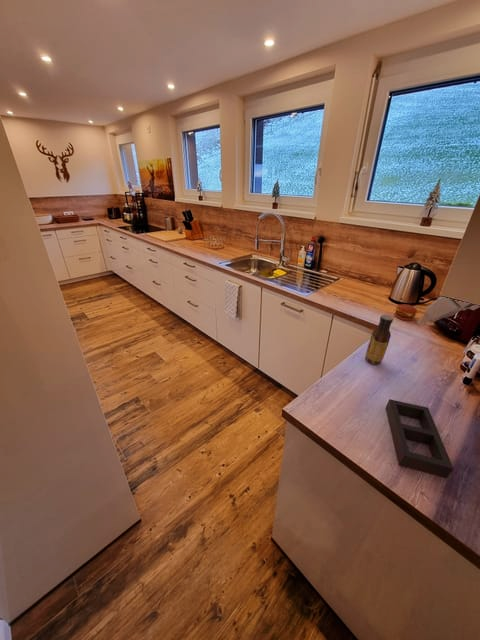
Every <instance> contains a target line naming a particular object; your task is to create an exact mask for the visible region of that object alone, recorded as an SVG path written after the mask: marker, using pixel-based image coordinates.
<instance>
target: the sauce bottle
mask: <svg viewBox="0 0 480 640" xmlns="http://www.w3.org/2000/svg"><path fill="white" fill-rule="evenodd" d="M393 322H394V317H392V316H391V315H389V314H388V315H387V314H382V315H380V318H379V323H378V325H377V327H376V328H374V329H373V331H372V333H371V335H370V338H369V342H368V344H367V348H366V352H365V357H364V359H365V361H366V362H367V363H368V364H370V365H373V366H379V365H381V364H382V361H384V358H385V355H386V352H387V349H388V346H389V344H390V339H391V336H392V333H391V331H390V328H391V326H392V323H393Z"/></svg>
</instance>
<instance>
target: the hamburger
mask: <svg viewBox="0 0 480 640" xmlns="http://www.w3.org/2000/svg"><path fill="white" fill-rule="evenodd" d="M393 311H395V312H394V317H395V318H397V319H398V320H400V321H404V322H405V321H406V322H413V321H414V319H415V316H416V314H418V313H420V312H419V311H418V310H417V308H416V307H414V306H413V305H410V304H406V303H404V304H403V303H402V304H398V305H397V306H396V307H395V308H393Z"/></svg>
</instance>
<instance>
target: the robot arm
mask: <svg viewBox="0 0 480 640" xmlns="http://www.w3.org/2000/svg"><path fill="white" fill-rule="evenodd" d="M479 308H480V306H478V305H473V304H470V303H466V302H462V301H457V300H453V299H450V298H446V297H441V296H440V297H438V298H437V299H436V300H435V301H433V302H432V303H431V304H430V305H429V306H427V307H426V308H425V309H424V311H423V313H424V315H423V316H422V317H421V318H420V319H418V320H417V321H416V324H417V325H418V326H420V327H421V326H424V325H425V324H427V323H429V324H433V323H435V322H437V321H439V320H441V319H444V318H448V317H453V316H454V315H456V314H458V313H460V312H461V311H466V310H471V311H475V310H477V309H479Z"/></svg>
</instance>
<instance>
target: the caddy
mask: <svg viewBox="0 0 480 640" xmlns="http://www.w3.org/2000/svg"><path fill="white" fill-rule="evenodd" d="M385 412H386V417H387V420H388V425H389V429H390V433H391V438H392V441H393V446H394V450H395V454H396V459H397V463H398V466H400V467H404V468H409V469H411V470H414V471H418V472H422V473H425V474H429V475H432V476H436V477H439V478H444V479H448V477H449V476H450V475H451V474H452V472H453V471H454V466H453V464H452V462H451V461H452V460H451V459H450V457H449V454H448V451H447V449H446V446H445V445H444V442H443V439H442V438H441V435H440V433H439V430H438V428H437V426H436V423H435V421H434V418H433V416H432V414H431V412H430V409H429V407H428V406H422V405H418V404H413V403H408V402H405V401H400V400H396V399H388V401H387V404H386V405H385ZM401 416H403V417H407V418H411V419H415V420H418V421H419V424H420V427H418V426H414V425H410V424H406V423H402V420H401ZM407 441H412V442H415V443H419V444H423V445H427V447H428V449H429V452H430V454H431V456H427V455H424V454H420V453H416V452H412V451H410V449H409V446H408V445H409V444H408V442H407Z"/></svg>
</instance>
